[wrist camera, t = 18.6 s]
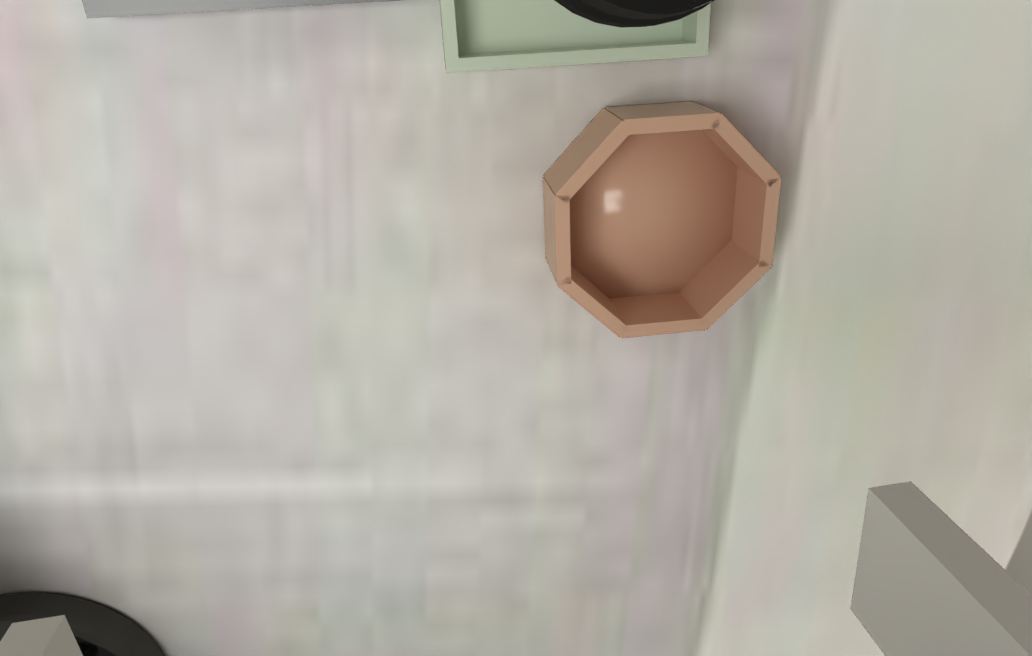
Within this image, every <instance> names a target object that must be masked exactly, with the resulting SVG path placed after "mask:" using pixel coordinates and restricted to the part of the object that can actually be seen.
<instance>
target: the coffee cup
mask: <svg viewBox="0 0 1032 656" xmlns="http://www.w3.org/2000/svg"><path fill="white" fill-rule="evenodd" d="M555 1H556V2H557V3H559V4H560V5H562V6H563V7H565V8H566V9H567V10H569V11H570V12H572V13H574V14H576V15H578V16H581V17H583V18H586V19H588V20H590V21H593V22H595V23H599V24H604V25H610V26H615V27H621V28H624V27H647V26H655V25H659V24H663V23H668V22H672V21H676V20H680V19H682V18H684V17H686V16H688V15H690V14H692V13H694V12H696V11H699V10H701V9H703V8H704V7H706V6H707V5H708V4H710V3H711V2H713V1H714V0H555Z"/></svg>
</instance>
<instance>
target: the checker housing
mask: <svg viewBox="0 0 1032 656" xmlns="http://www.w3.org/2000/svg"><path fill="white" fill-rule="evenodd" d="M380 1H398V0H82V2H83V5H84V9H85V13H86V16H87V18H99V17H117V16H134V15H152V14H170V13H187V12H205V11H222V10H240V9H257V8H275V7H292V6H310V5H327V4H345V3H362V2H380Z"/></svg>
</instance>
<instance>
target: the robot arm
mask: <svg viewBox="0 0 1032 656" xmlns="http://www.w3.org/2000/svg"><path fill="white" fill-rule="evenodd" d="M851 610H852V611H853V613H854V614H855V616H856V617H857V618H858V620H859V621H860V622H861V624H862V625H863V626H864V628H865V629H866V630H867V632H868V633H869V634H870V636H871V637H872V639H873V640H874V641H875V643H876V644H877V645H878V647H879V648H880V649H881V651H882V652H883V653H884V655H885V656H1032V595H1031V594H1030V593H1029V592H1028V591H1027V590H1026V589H1025V588H1024V587H1023V586H1022V585H1021V584H1019V583H1018V582H1017V581H1016V580H1015V579H1014V578H1013V577H1012V576H1011V575H1010V574H1009V573H1008V572H1007V571H1006V570H1005V569H1004V568H1002V567H1001V566H1000V565H999V564H998V563H997V562H996V561H995V560H994V559H993V558H992V557H991V556H990V555H989V554H988V553H986V552H985V551H984V550H983V549H982V548H981V547H980V546H979V545H978V544H977V543H976V542H975V541H974V540H973V539H972V538H970V537H969V536H968V535H967V534H966V533H965V532H964V531H963V530H962V529H961V528H960V527H959V526H958V525H957V524H956V523H955V522H953V521H952V520H951V519H950V518H949V517H948V516H947V515H946V514H945V513H944V512H943V511H942V510H941V509H940V508H939V507H937V506H936V505H935V504H934V503H933V502H932V501H931V500H930V499H929V498H928V497H927V496H926V495H925V494H924V493H923V492H921V491H920V490H919V489H918V488H917V487H916V486H915V485H914V484H913V483H912V482H905V483H898V484H892V485H886V486H879V487H873V488H869V490H868V496H867V503H866V509H865V516H864V523H863V529H862V536H861V543H860V549H859V556H858V562H857V569H856V576H855V582H854V589H853V595H852V602H851ZM0 656H164V655H163V654H162V652H161V650H160V649H159V647H158V646H157V644H156V643H155V642H154V641H153V640H152V638H151V637H150V636H149V635H148V634H147V633H146V632H145V631H143V630H142V629H141V628H140V627H139V626H137V625H136V624H135V623H133V622H132V621H130V620H129V619H127V618H126V617H124V616H122V615H121V614H119V613H117V612H115V611H113V610H111V609H109V608H106V607H104V606H101V605H99V604H96V603H93V602H90V601H87V600H83V599H80V598H75V597H71V596H65V595H59V594H51V593H15V594H7V595H1V596H0Z"/></svg>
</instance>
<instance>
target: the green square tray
mask: <svg viewBox="0 0 1032 656" xmlns="http://www.w3.org/2000/svg"><path fill="white" fill-rule="evenodd" d="M710 10H711V3H710V4H708V5H707V6H706V7H704V8H703V9H701V10H699V11H696V12H694V13H692V14H690V15H688V16H686V17H684V18H682V19H680V20H676V21H672V22H668V23H663V24H659V25H655V26H647V27H624V28H621V27H615V26H610V25H604V24H599V23H595V22H593V21H590V20H588V19H586V18H583V17H581V16H578V15H576V14H574V13H572V12H570V11H569V10H567V9H566V8H565V7H563V6H562V5H560V4H559V3H557V2H556V1H555V0H440V11H441V23H442V34H443V45H444V57H445V68H446V73H456V72H471V71H487V70H502V69H517V68H533V67H548V66H563V65H579V64H594V63H610V62H625V61H640V60H656V59H671V58H686V57H702V56H708V44H709V27H710Z"/></svg>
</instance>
